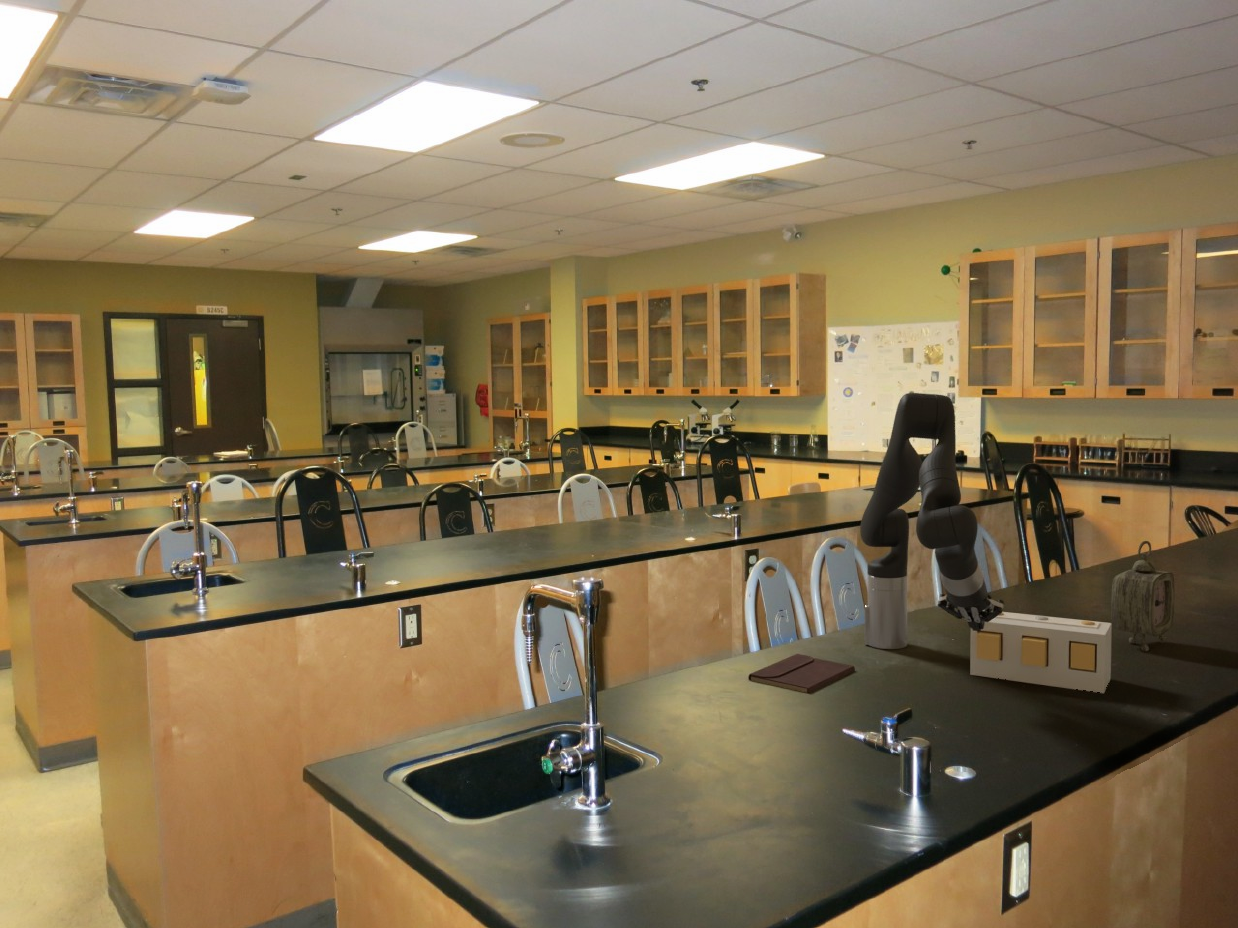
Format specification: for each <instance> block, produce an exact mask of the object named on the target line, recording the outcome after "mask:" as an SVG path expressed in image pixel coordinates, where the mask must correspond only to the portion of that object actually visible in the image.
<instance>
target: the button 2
mask: <svg viewBox="0 0 1238 928" xmlns="http://www.w3.org/2000/svg"><path fill="white" fill-rule="evenodd" d="M1096 661H1097V644H1094V643H1085V642H1077V641H1072V642H1071V668H1077V669H1085V670H1093V671H1095V669H1096Z"/></svg>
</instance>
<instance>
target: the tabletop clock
mask: <svg viewBox="0 0 1238 928" xmlns="http://www.w3.org/2000/svg"><path fill="white" fill-rule="evenodd" d="M1145 545H1147V546H1148V552H1142V555H1141V551H1142V548H1143V547H1144V546H1145ZM1138 546H1139V547H1138V551H1137V554H1138V558H1139V560H1137V561H1135V562H1134V564H1133V566H1132V568H1131V569H1128V570H1125V571H1122V572H1121V573H1119V574H1116V575H1115V576H1114V577H1113V579H1112V586H1111V600H1110V601H1111V603H1110V604H1111V605H1110V607H1111V610H1110V611H1111V612H1110V613H1111V616H1110V617H1111V623H1112V626H1114V627H1115V628H1116V629H1118V630H1120V631H1121V632H1127V633H1132V636H1131V637H1129V638H1128V643H1129V644H1131V645H1135V644H1136V642H1137V638H1136V636H1137V635H1139V638H1140V641H1141V643H1142V645H1141V646H1140V649H1141V651H1143V652H1145V653H1147V652H1148V651H1149V650H1150V647H1149V645H1148V644H1146V639H1145V636H1152V637H1158V641H1159V643H1161V644H1162V643H1165V642H1167V638H1166V636H1164V634H1166V633H1167V632H1168V631H1170V629H1171V628H1172V626H1173V623H1174V612H1175V577H1174V576H1175V575H1174V573H1173V572H1170V571H1162V570H1158V569H1157V566H1156V564H1155V563H1154V562H1153V561H1151V560H1149V559H1148V558H1149V557H1150V555H1151V554H1152V553H1151V552H1152V544H1151V542H1150V541H1148V540H1143V541H1142V542H1141V543H1140V544H1139V545H1138Z"/></svg>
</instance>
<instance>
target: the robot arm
mask: <svg viewBox="0 0 1238 928" xmlns="http://www.w3.org/2000/svg"><path fill="white" fill-rule="evenodd" d="M955 413H956V412H955V406H954V403H953V401H952V399H951V397H949V396H947V395H944V394H935V393H933V394H932V393H922V392H908V393H905V394H903V395H902V396H901V397H900V399H899V401H898V404H897V407H896V412H895V416H894V420H893V424H892V429H891V434H890V439H889V443H888V445H887V449H886V452H885V454H884V457H883V461H882V462H881V465H880V467H879V468H880V469H879V470H878V476H877V479H876V483H875V486H874V489H873V492H872V494H871V497H870V499H869V502H868V503H867V505H866V507H865V510H864V511H863V513H862V517H861V520H860V521H861V522H860V528H859V530H860V531H859V532H860V537H861V540H862V543H864V544H865V545H866V546H868V547H870V548H871V547H873V548H890V550H889V551H888V552H886V553H885V554H884V555H882V556H881V557H878V558H874V559H873V560H871V561H869V562H868V564H867V570H866V571H867V604H866V605H865V606H864V645H865V646H870V647H873V648H875V649H882V650H898V649H900V650H901V649H903V648H906V647H907V646H908V564H909V561H908V560H909V558H908V557H909V540H910V537H909V536H910V519H909V515H908V513H907V512H906V510H905V509H903V508H900V507H902V506H904V505H905V504H907V503H908V502H910V500H912V499H913V498H914V497H915V496H916V494H917V492H918V491H919V488H920V494H921V495H920V496H921V501H920V507H919V510H918V515H917V519H916V524H915V525H916V526H915V532H916V536H917V539H918V541H919V543H920V544H921V545H922V546H923V547H925V548H926V549H929V550H934V556H935V561H936V562H937V565H938V568H939V575H940V579H941V583H942V585H943V587H944V591H945V593H941V594H939V597H938V601H937V607H939V608H941V610H944V611H945V612H947V613H948V614H949V615H952V616H953V617H954V618H956V619H957V620H962V619H964V620H965V622H967V624H968V627H969V628H970V629H971V628H972V629H973V631H981V629H983V628H984V624H985V622H989V621H991V620H992V619H994V618H995V617H997V616H998V615H999V614H1001V613H1002V612H1003V609H1004V604H1005V601H1004V599H997V600H994V599H993V598H992V596H991V594H990V593H988V589H987V588H988V587H987V584H986V581H985V577H984V574H983V570H982V568H981V565H980V563H979V562H978V557H977V555H976V551H975V547H976V546H975V544H976V541H977V536H978V529H979V526H978V519H977V516H976V514H975V512H974V511H973V510H972V509H971V508H969V507H968V506H966V505H961V504H960V502H961V500H962V492H961V488H960V482H959V478H958V473H957V466H956V465H957V464H956V462H957V461H956V450H957V448H956V447H957V443H956V414H955ZM911 438H913V439H914V438H915V439H927V440H937V443H936V445H935V447H933V448H932V450H931V451H930V453H928V455H927V456H926V458H925V459H924V460H923V461H922V458H921V457H920V455H919V453H918V452H917V450H916V449H915V447H914V446H913V444H912V443H911V441H910V439H911ZM956 610H957V611H956ZM983 610H985V611H983ZM984 621H985V622H984Z"/></svg>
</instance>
